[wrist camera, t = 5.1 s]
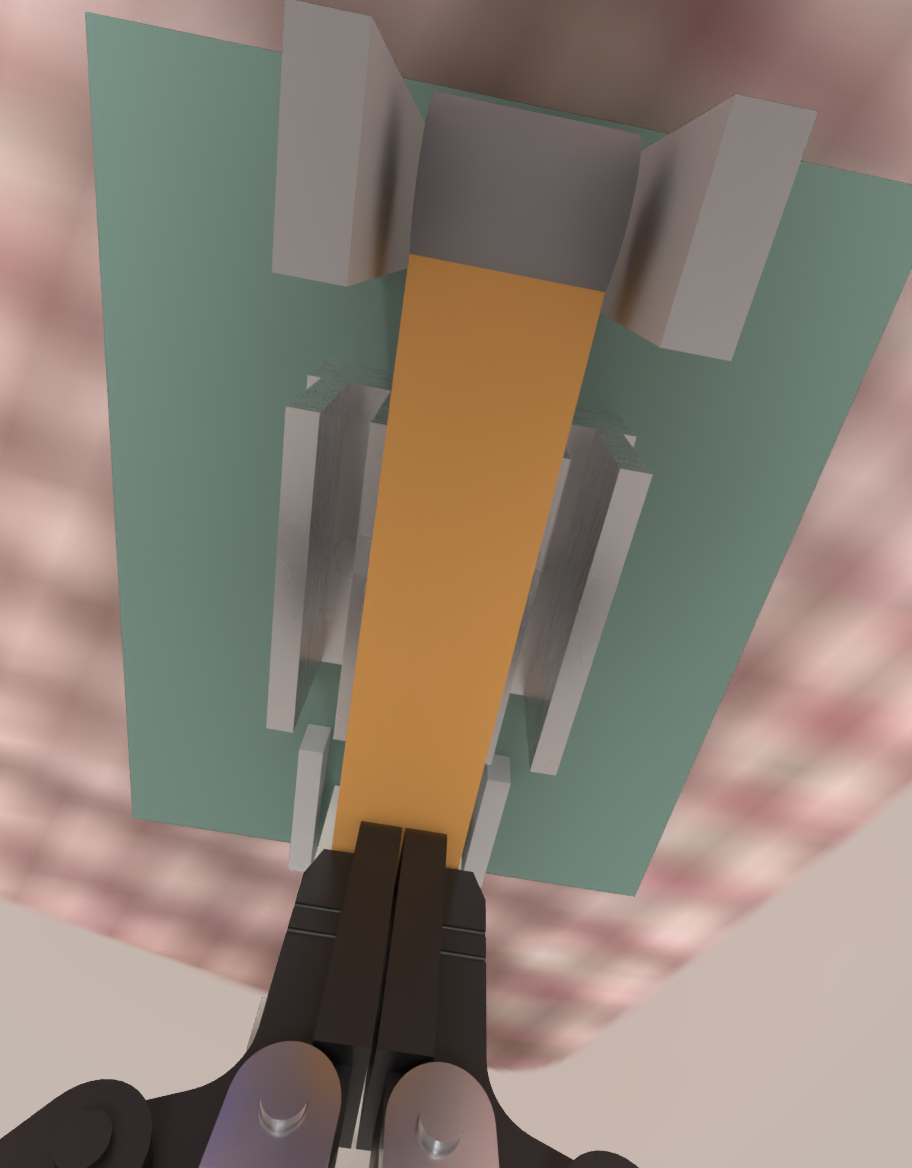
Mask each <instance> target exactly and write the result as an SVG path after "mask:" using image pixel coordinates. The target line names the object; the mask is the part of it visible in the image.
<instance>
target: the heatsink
mask: <svg viewBox="0 0 912 1168" xmlns="http://www.w3.org/2000/svg"><path fill="white" fill-rule="evenodd" d="M393 376H394V372H393V371H387V370H382V369H377V368H371V367H366V366H361V365H355V364H350V363H345V362H340V361H334V360H329V359H328V360H327V361H326V362H324V363H323V364H322V365H320V366H319V367H318V368H316V369H315V370H313V371H312V372H311V373H309V374H308V375H307V388H306V390H305V391H304V392H303V393H302V394H300V395H299V396H298V397H297V398H296V399H294V400H293V401H292V402H291V403H289V404H288V405H287V406H286V408H285V425H284V441H283V458H282V474H281V491H280V508H279V524H278V541H277V557H276V574H275V591H274V607H273V624H272V641H271V657H270V674H269V690H268V707H267V724H266V728H268V729H274V730H280V731H286V732H292V733H293V731H294V729H295V726H296V724H297V721H298V719H299V716H300V714H301V711H302V709H303V706H304V703H305V701H306V698H307V696H308V693H309V691H310V688H311V686H312V683H313V681H314V678H315V676H316V673H317V670H318V668H319V665H320V663H321V661H323V662H329V663H335V664H341V665H342V668H341V676H340V685H339V693H338V702H337V710H336V719H335V727H334V735H333V739H335V740H341V741H346V735H347V728H348V720H349V712H350V705H351V697H352V690H353V682H354V674H355V667H356V659H357V651H358V644H359V636H360V628H361V621H362V613H363V605H364V598H365V590H366V582H367V575H368V567H369V559H370V552H371V544H372V536H373V529H374V521H375V514H376V506H377V498H378V491H379V483H380V475H381V468H382V460H383V452H384V445H385V437H386V429H387V422H388V414H389V406H390V399H391V391H392V383H393ZM636 438H637V436H636V435H635V434H634V433H633V431H632V430H631V429H630V427H629V426H628V425H627V424H626V422H625V421H624V420H623V419H622V417H621V416H620V415H619V414H615V413H609V412H604V411H599V410H594V409H588V408H583V407H578V406H576V408H575V412H574V416H573V420H572V424H571V428H570V432H569V436H568V440H567V444H566V448H565V452H564V456H563V459H562V463H561V467H560V471H559V475H558V479H557V483H556V487H555V491H554V495H553V499H552V503H551V507H550V511H549V514H548V518H547V522H546V526H545V530H544V534H543V538H542V542H541V546H540V550H539V554H538V558H537V562H536V565H535V569H534V573H533V577H532V581H531V585H530V589H529V593H528V597H527V601H526V605H525V609H524V613H523V617H522V620H521V624H520V628H519V632H518V636H517V640H516V644H515V648H514V652H513V656H512V660H511V664H510V668H509V671H508V675H507V679H506V683H505V687H504V691H503V695H502V699H501V703H500V707H499V711H498V715H497V719H496V723H495V726H494V730H493V734H492V738H491V742H490V746H489V750H488V754H487V758H486V762H485V764H488V765H491V763H492V759H493V756H494V752H495V748H496V744H497V740H498V736H499V733H500V729H501V725H502V721H503V717H504V714H505V710H506V706H507V702H508V698H509V694H510V693H512V694H518V695H524V707H525V718H526V730H527V742H528V754H529V765H530V771H531V772H537V773H543V774H549V775H555V776H556V774H557V771H558V768H559V764H560V761H561V758H562V755H563V752H564V749H565V746H566V743H567V740H568V736H569V733H570V730H571V727H572V724H573V721H574V718H575V715H576V712H577V709H578V705H579V702H580V699H581V696H582V693H583V690H584V687H585V684H586V681H587V678H588V674H589V671H590V668H591V665H592V662H593V659H594V656H595V653H596V650H597V646H598V643H599V640H600V637H601V634H602V631H603V628H604V625H605V622H606V619H607V615H608V612H609V609H610V606H611V603H612V600H613V597H614V594H615V591H616V588H617V584H618V581H619V578H620V575H621V572H622V569H623V566H624V563H625V560H626V556H627V553H628V550H629V547H630V544H631V541H632V538H633V535H634V532H635V529H636V525H637V522H638V519H639V516H640V513H641V510H642V507H643V504H644V501H645V498H646V494H647V491H648V488H649V485H650V482H651V479H652V476H653V474H652V473H651V471H650V470H649V469H648V467H647V466H646V465H645V463H644V462H643V460H642V459H641V458H640V456H639V455H638V454H637V452H636V451H635V449H634V448H633V447H634V444H635V441H636Z"/></svg>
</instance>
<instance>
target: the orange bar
mask: <svg viewBox="0 0 912 1168" xmlns="http://www.w3.org/2000/svg"><path fill="white" fill-rule="evenodd" d="M640 156H641V138H640V135H639V134H637V133H633V132H628V131H623V130H618V129H613V128H609V127H604V126H599V125H594V124H589V123H585V122H580V121H575V120H570V119H565V118H561V117H556V116H551V115H546V114H541V113H537V112H532V111H527V110H522V109H517V108H513V107H508V106H503V105H498V104H493V103H489V102H484V101H479V100H474V99H469V98H465V97H460V96H455V95H450V94H445V93H441V92H436V91H435V92H434V93H433V95H432V97H431V101H430V104H429V108H428V112H427V117H426V122H425V127H424V132H423V138H422V144H421V150H420V156H419V163H418V170H417V178H416V185H415V193H414V202H413V212H412V222H411V234H410V252H409V261H408V269H407V276H406V284H405V292H404V299H403V307H402V315H401V322H400V330H399V338H398V345H397V353H396V361H395V368H394V376H393V383H392V391H391V399H390V406H389V414H388V422H387V429H386V437H385V445H384V452H383V460H382V468H381V475H380V483H379V491H378V498H377V506H376V514H375V521H374V529H373V536H372V544H371V552H370V559H369V567H368V575H367V582H366V590H365V598H364V605H363V613H362V621H361V628H360V636H359V644H358V651H357V659H356V667H355V674H354V682H353V690H352V697H351V705H350V712H349V720H348V728H347V735H346V743H345V751H344V758H343V766H342V774H341V781H340V789H339V797H338V804H337V812H336V820H335V827H334V835H333V843H332V850H336V851H342V852H348V853H354V851H355V846H356V842H357V837H358V832H359V828H360V824H361V821H366V822H372V823H378V824H384V825H391V826H397V827H402V835H401V842H400V849H399V856H398V863H397V870H398V865H399V860H400V855H401V849H402V844H403V839H404V834H405V829H406V828H411V829H417V830H424V831H430V832H436V833H442V834H447V854H446V868H452V869H458V868H459V864H460V860H461V856H462V852H463V848H464V844H465V840H466V836H467V832H468V829H469V825H470V821H471V817H472V813H473V809H474V805H475V801H476V797H477V793H478V789H479V785H480V781H481V777H482V774H483V770H484V766H485V762H486V758H487V754H488V750H489V746H490V742H491V738H492V734H493V730H494V726H495V723H496V719H497V715H498V711H499V707H500V703H501V699H502V695H503V691H504V687H505V683H506V679H507V675H508V671H509V668H510V664H511V660H512V656H513V652H514V648H515V644H516V640H517V636H518V632H519V628H520V624H521V620H522V617H523V613H524V609H525V605H526V601H527V597H528V593H529V589H530V585H531V581H532V577H533V573H534V569H535V565H536V562H537V558H538V554H539V550H540V546H541V542H542V538H543V534H544V530H545V526H546V522H547V518H548V514H549V511H550V507H551V503H552V499H553V495H554V491H555V487H556V483H557V479H558V475H559V471H560V467H561V463H562V459H563V456H564V452H565V448H566V444H567V440H568V436H569V432H570V428H571V424H572V420H573V416H574V412H575V408H576V405H577V401H578V397H579V393H580V389H581V385H582V381H583V377H584V373H585V369H586V365H587V361H588V357H589V353H590V350H591V346H592V342H593V338H594V334H595V330H596V326H597V322H598V318H599V314H600V310H601V306H602V302H603V299H604V295H605V291H606V289H607V287H608V284H609V282H610V279H611V276H612V274H613V271H614V268H615V265H616V262H617V259H618V256H619V253H620V249H621V246H622V243H623V239H624V236H625V232H626V228H627V224H628V220H629V216H630V212H631V208H632V204H633V199H634V194H635V189H636V184H637V178H638V172H639V165H640ZM396 875H397V871H396ZM395 880H396V878H395Z"/></svg>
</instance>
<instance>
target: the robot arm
mask: <svg viewBox="0 0 912 1168" xmlns="http://www.w3.org/2000/svg"><path fill="white" fill-rule="evenodd" d="M401 835H402V827H397V826H391V825H384V824H378V823H372V822H366V821H361V824H360V828H359V832H358V837H357V842H356V846H355V851H354V853H348V852H342V851H336V850H329V849H323V851H322V852H321V853H320V854H319V855H318V856H317V858H316V859H315V860H314V861H313V862H312V864H311V865H310V866H309V867H308V868H307V869H306V871H305V872H304V874H303V878H302V881H301V885H300V888H299V891H298V895H297V898H296V902H295V906H294V908H293V912H292V915H291V919H290V922H289V925H288V930H287V933H286V936H285V939H284V942H283V946H282V949H281V953H280V956H279V959H278V963H277V966H276V970H275V973H274V976H273V980H272V983H271V987H270V990H269V993H268V997H267V1000H266V1004H265V1007H264V1011H263V1014H262V1017H261V1021H260V1024H259V1028H258V1030H257V1033H256V1036H255V1038H254V1040H253V1042H252V1044H251V1046H250V1047H249V1049H248V1050H247V1052H246V1053H245V1055H244V1056H243V1057H242V1058H241V1059H240V1061H239V1062H238V1063H237V1064H236V1065H235V1066H234V1067H233V1068H232V1069H230V1070H229V1071H228V1072H227V1073H226V1074H224V1075H223V1076H221V1077H220V1078H218V1079H216V1080H215V1081H213V1082H211V1083H209V1084H207V1085H204V1086H202V1087H199V1088H196V1089H192V1090H189V1091H184V1092H180V1093H175V1094H171V1095H166V1096H162V1097H158V1098H154V1099H149V1100H145V1098H144V1097H143V1096H142V1095H141V1093H140V1092H139V1091H138V1090H137V1089H135V1088H134V1087H133V1086H131V1085H129V1084H127V1083H125V1082H122V1081H118V1080H113V1079H101V1080H95V1081H90V1082H87V1083H84V1084H80V1085H78V1086H76V1087H74V1088H72V1089H70V1090H68V1091H66V1092H64V1093H63V1094H61V1095H60V1096H58V1097H57V1098H55V1099H54V1100H53V1101H51V1102H50V1103H49V1104H47V1105H46V1106H45V1107H43V1108H42V1109H40V1110H39V1111H38V1112H36V1113H35V1114H34V1115H32V1116H31V1117H30V1118H28V1119H27V1120H26V1121H24V1122H23V1123H21V1124H20V1125H19V1126H18V1127H16V1128H15V1129H13V1130H12V1131H11V1132H9V1133H8V1134H7V1135H5V1136H4V1137H3V1138H1V1139H0V1168H335V1165H336V1159H337V1154H338V1149H339V1147H341V1148H348V1149H351V1146H352V1141H353V1136H354V1131H355V1126H356V1121H357V1116H358V1111H359V1106H360V1102H361V1097H362V1092H363V1087H364V1082H365V1087H364V1094H363V1101H362V1108H361V1115H360V1122H359V1129H358V1136H357V1143H356V1149H359V1150H366V1151H371V1155H370V1163H369V1168H638V1167H637V1166H636V1165H635V1164H633V1163H632V1162H630V1161H629V1160H627V1159H626V1158H624V1157H622V1156H620V1155H618V1154H615V1153H611V1152H607V1151H591V1152H587V1153H585V1154H582V1155H580V1156H579V1157H577V1158H576V1159H575V1160H572V1159H571V1158H569V1157H567V1156H565V1155H563V1154H562V1153H560V1152H558V1151H556V1150H554V1149H553V1148H551V1147H549V1146H547V1145H546V1144H544V1143H542V1142H540V1141H538V1140H537V1139H535V1138H533V1137H531V1136H530V1135H528V1134H527V1133H525V1132H524V1131H522V1130H521V1129H520V1128H519V1127H518V1126H517V1125H516V1124H515V1123H513V1121H512V1120H511V1119H510V1118H509V1117H508V1116H507V1115H506V1114H505V1112H504V1110H503V1109H502V1107H501V1106H500V1105H499V1103H498V1101H497V1099H496V1097H495V1095H494V1093H493V1090H492V1087H491V1084H490V1081H489V1077H488V1072H487V1061H486V963H485V958H486V937H485V931H486V908H485V898H484V896H483V893H482V891H481V889H480V886H479V884H478V882H477V880H476V877H475V875H474V873H473V872H471V871H465V870H458V869H452V868H446V854H447V834H442V833H436V832H430V831H424V830H417V829H411V828H406V829H405V834H404V839H403V844H402V849H401V855H400V860H399V865H398V870H397V863H398V856H399V849H400V842H401ZM396 871H397V875H396ZM395 878H396V880H395ZM366 1072H367V1073H366ZM365 1077H366V1080H365Z"/></svg>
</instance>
